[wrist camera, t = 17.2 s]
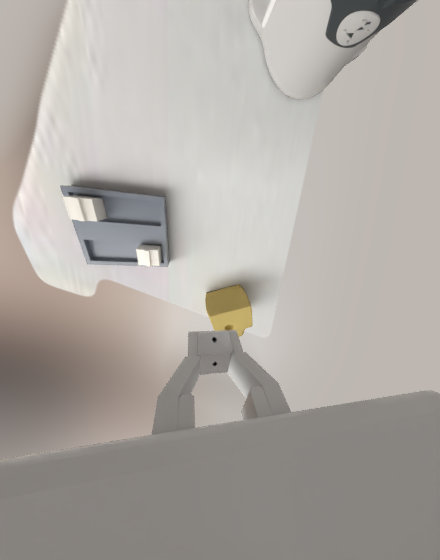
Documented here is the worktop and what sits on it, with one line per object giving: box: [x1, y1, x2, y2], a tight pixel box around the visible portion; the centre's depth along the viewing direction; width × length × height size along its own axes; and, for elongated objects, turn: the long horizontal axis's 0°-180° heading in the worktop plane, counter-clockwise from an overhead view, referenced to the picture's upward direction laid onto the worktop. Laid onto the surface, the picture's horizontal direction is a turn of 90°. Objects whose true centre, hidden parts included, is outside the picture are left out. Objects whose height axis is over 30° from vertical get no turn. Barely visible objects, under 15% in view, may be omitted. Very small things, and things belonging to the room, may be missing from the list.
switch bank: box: [60, 186, 169, 267], centre depth 31 cm, size 14×16×3 cm
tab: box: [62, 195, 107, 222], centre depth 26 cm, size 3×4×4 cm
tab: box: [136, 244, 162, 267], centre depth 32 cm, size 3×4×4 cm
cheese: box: [205, 285, 252, 337], centre depth 42 cm, size 10×11×10 cm
